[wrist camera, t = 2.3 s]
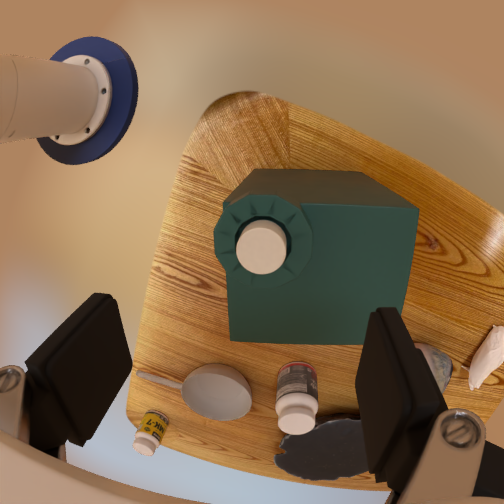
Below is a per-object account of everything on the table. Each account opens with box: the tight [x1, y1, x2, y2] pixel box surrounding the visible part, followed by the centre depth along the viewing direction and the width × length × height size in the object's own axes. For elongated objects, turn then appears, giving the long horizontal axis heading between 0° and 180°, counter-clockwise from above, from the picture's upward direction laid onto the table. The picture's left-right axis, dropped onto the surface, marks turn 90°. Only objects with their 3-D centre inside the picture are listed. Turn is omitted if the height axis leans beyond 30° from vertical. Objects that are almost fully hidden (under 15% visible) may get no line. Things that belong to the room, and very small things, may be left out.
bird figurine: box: [461, 325, 504, 391], centre depth 37 cm, size 5×7×10 cm
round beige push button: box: [236, 220, 287, 274], centre depth 17 cm, size 3×3×2 cm
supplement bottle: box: [133, 410, 169, 456], centre depth 49 cm, size 5×5×8 cm
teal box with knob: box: [214, 169, 419, 345], centre depth 27 cm, size 12×11×19 cm
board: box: [274, 413, 369, 481], centre depth 47 cm, size 22×22×5 cm
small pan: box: [136, 364, 252, 421], centre depth 45 cm, size 11×18×4 cm, turn 75°
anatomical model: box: [414, 343, 453, 393], centre depth 37 cm, size 10×12×10 cm
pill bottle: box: [276, 362, 318, 435], centre depth 40 cm, size 6×6×10 cm
